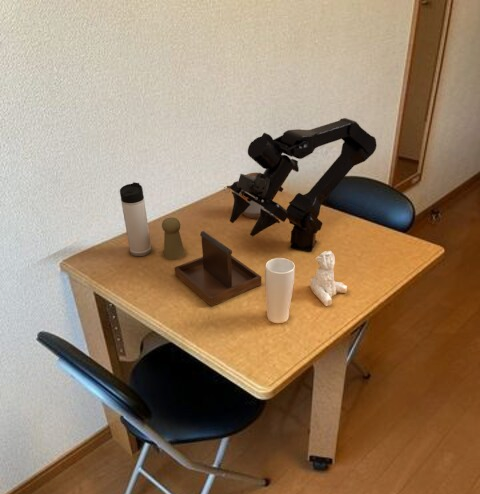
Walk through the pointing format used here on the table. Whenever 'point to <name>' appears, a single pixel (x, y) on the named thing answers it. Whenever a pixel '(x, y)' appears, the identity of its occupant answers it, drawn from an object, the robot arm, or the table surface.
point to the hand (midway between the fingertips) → (240, 228)
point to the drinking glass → (279, 288)
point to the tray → (217, 273)
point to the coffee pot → (252, 205)
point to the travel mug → (135, 219)
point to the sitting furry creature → (326, 279)
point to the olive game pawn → (172, 239)
